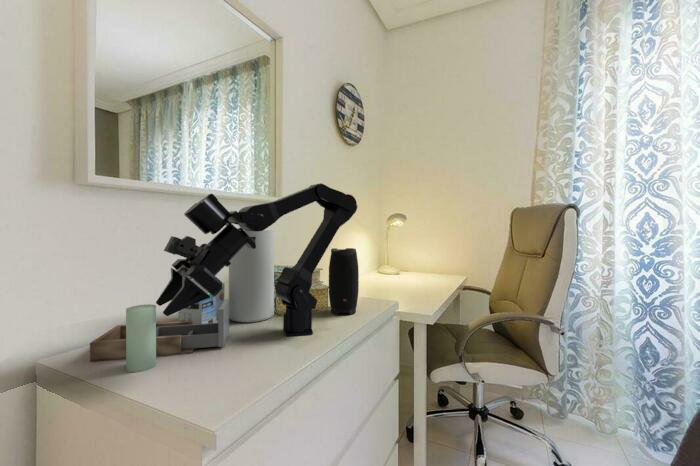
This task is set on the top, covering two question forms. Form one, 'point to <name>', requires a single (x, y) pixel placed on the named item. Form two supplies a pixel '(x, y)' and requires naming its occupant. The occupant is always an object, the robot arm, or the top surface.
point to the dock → (115, 343)
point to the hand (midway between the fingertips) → (161, 309)
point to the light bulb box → (203, 310)
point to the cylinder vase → (252, 280)
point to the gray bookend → (201, 331)
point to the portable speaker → (343, 280)
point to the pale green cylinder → (140, 338)
